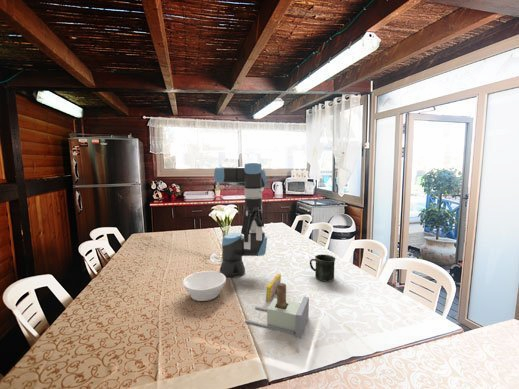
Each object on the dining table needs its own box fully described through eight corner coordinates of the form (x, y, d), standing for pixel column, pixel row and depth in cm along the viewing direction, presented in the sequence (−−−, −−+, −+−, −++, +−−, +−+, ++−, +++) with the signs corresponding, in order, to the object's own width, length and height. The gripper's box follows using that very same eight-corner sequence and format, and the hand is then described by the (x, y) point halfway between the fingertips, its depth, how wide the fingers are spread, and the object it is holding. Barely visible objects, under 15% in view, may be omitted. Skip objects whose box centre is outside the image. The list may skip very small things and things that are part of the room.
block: (267, 325, 101) (267, 308, 101) (274, 313, 110) (274, 297, 109) (297, 332, 97) (297, 315, 96) (302, 319, 105) (302, 303, 104)
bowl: (233, 288, 135) (233, 273, 134) (213, 310, 115) (212, 292, 114) (198, 282, 141) (197, 268, 140) (174, 302, 122) (173, 285, 121)
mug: (331, 284, 140) (332, 262, 138) (306, 278, 147) (306, 257, 146) (337, 276, 149) (337, 256, 147) (312, 271, 156) (313, 252, 155)
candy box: (269, 304, 119) (269, 287, 119) (265, 303, 120) (265, 286, 119) (280, 289, 134) (281, 273, 133) (277, 288, 135) (277, 273, 134)
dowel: (275, 319, 103) (275, 286, 101) (278, 314, 106) (278, 282, 105) (284, 321, 101) (284, 287, 100) (287, 316, 105) (287, 283, 103)
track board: (241, 326, 103) (241, 302, 102) (255, 308, 116) (255, 287, 115) (300, 341, 94) (301, 315, 93) (308, 320, 107) (308, 297, 106)
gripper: (249, 202, 101) (249, 254, 103) (270, 195, 124) (270, 237, 126) (232, 201, 103) (233, 251, 106) (256, 194, 126) (256, 236, 129)
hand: (253, 244), depth 116 cm, fingers open, 13 cm apart
